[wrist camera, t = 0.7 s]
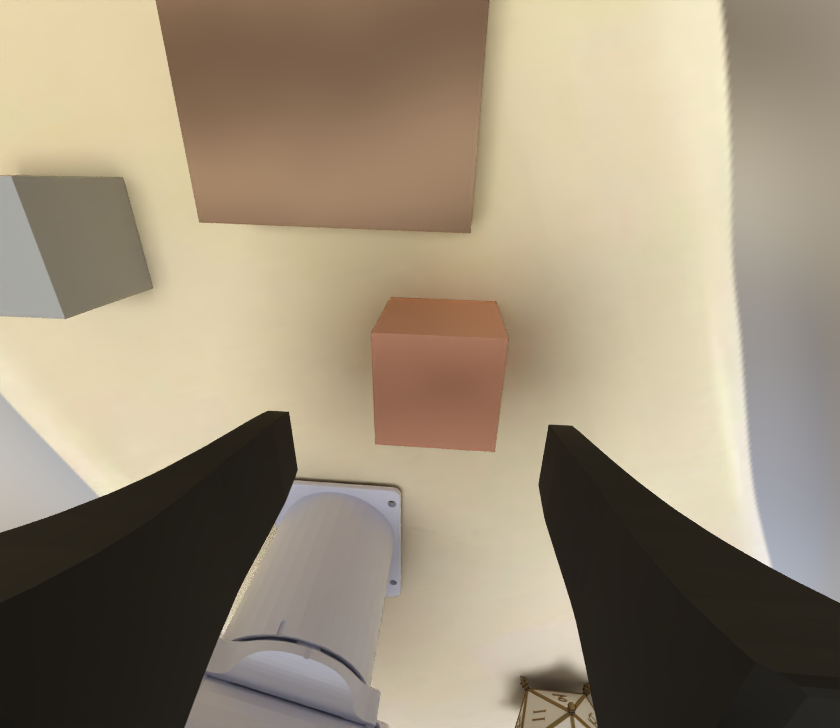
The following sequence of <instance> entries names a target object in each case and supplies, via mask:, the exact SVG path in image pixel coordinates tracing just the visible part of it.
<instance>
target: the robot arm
mask: <svg viewBox="0 0 840 728" xmlns="http://www.w3.org/2000/svg"><path fill="white" fill-rule="evenodd" d="M297 470H298V469H297V462H296V456H295V449H294V443H293V436H292V429H291V423H290V416H289V412H281V411H267V412H265V413H262V414H260V415H258V416H257V417H255V418H253V419H251V420H249V421H248V422H246V423H244V424H243V425H241V426H239V427H237V428H236V429H234V430H232V431H231V432H229V433H227V434H225V435H224V436H222V437H220V438H219V439H217V440H215V441H213V442H212V443H210V444H208V445H207V446H205V447H203V448H201V449H199V450H197V451H196V452H194V453H192V454H190V455H188V456H186V457H184V458H183V459H181V460H179V461H177V462H175V463H173V464H171V465H170V466H168V467H166V468H164V469H162V470H160V471H158V472H156V473H154V474H152V475H150V476H148V477H145V478H143V479H141V480H139V481H137V482H135V483H132V484H130V485H128V486H126V487H123V488H121V489H119V490H117V491H114V492H112V493H110V494H107V495H105V496H102V497H99V498H97V499H95V500H92V501H89V502H87V503H84V504H81V505H79V506H76V507H74V508H71V509H68V510H66V511H63V512H61V513H58V514H55V515H53V516H50V517H47V518H44V519H41V520H38V521H35V522H32V523H29V524H26V525H23V526H20V527H17V528H14V529H11V530H8V531H5V532H1V533H0V728H389V726H388V725H387V724H386V723H384V722H381V721H378V720H377V713H378V706H379V699H380V691H379V690H377V689H374V688H372V687H370V685H371V679H372V673H373V667H374V661H375V655H376V649H377V643H378V637H379V631H380V625H381V619H382V613H383V607H384V601H385V596H389V597H397V596H399V595H400V593H401V492H400V491H399V489H397V488H394V487H384V486H370V485H356V484H342V483H328V482H313V481H299V480H294V479H295V476H296V473H297ZM539 490H540V496H541V502H542V507H543V513H544V518H545V521H546V525H547V528H548V531H549V535H550V538H551V541H552V544H553V548H554V551H555V554H556V557H557V560H558V563H559V566H560V570H561V573H562V576H563V579H564V582H565V585H566V588H567V592H568V595H569V598H570V601H571V605H572V608H573V612H574V616H575V619H576V624H577V628H578V633H579V638H580V642H581V647H582V651H583V656H584V661H585V665H586V670H587V676H588V681H589V686H590V691H591V696H592V701H593V706H594V711H595V716H596V721H597V727H598V728H840V603H839V602H837V601H835V600H832V599H831V598H828V597H827V596H825V595H823V594H820V593H819V592H816V591H815V590H813V589H811V588H809V587H806V586H805V585H803V584H800V583H798V582H797V581H795V580H792V579H791V578H789V577H787V576H785V575H783V574H781V573H779V572H778V571H776V570H774V569H772V568H770V567H768V566H766V565H765V564H763V563H761V562H759V561H758V560H756V559H754V558H752V557H751V556H749V555H747V554H745V553H744V552H742V551H740V550H738V549H737V548H735V547H733V546H731V545H730V544H728V543H726V542H725V541H723V540H721V539H720V538H718V537H717V536H715V535H713V534H712V533H710V532H708V531H707V530H705V529H704V528H702V527H701V526H699V525H698V524H696V523H695V522H693V521H692V520H690V519H689V518H687V517H686V516H684V515H683V514H681V513H680V512H678V511H677V510H675V509H674V508H672V507H671V506H670V505H668V504H667V503H665V502H664V501H663V500H661V499H660V498H659V497H657V496H656V495H655V494H653V493H652V492H651V491H649V490H648V489H647V488H646V487H644V486H643V485H642V484H640V483H639V482H638V481H637V480H635V479H634V478H633V477H632V476H630V475H629V474H628V473H627V472H625V471H624V470H623V469H622V468H621V467H619V466H618V465H617V464H616V463H615V462H614V461H612V460H611V459H610V458H609V457H608V456H607V455H605V454H604V453H603V452H602V451H601V450H600V449H599V448H597V447H596V446H595V445H594V444H593V443H592V442H591V441H589V440H588V439H587V438H586V437H585V436H584V435H583V434H581V433H580V432H579V431H578V430H577V429H575V428H574V427H573V426H566V425H549V426H548V432H547V438H546V444H545V450H544V455H543V461H542V467H541V473H540V479H539ZM390 501H394V503H393V502H390ZM275 521H276V526H277V531H276V533H275V535H274V537H273V539H272V541H271V543H270V545H269V547H268V549H267V551H266V553H265V555H264V557H263V559H262V561H261V563H260V565H259V567H258V568H257V570H256V572H255V574H254V576H253V578H252V580H251V582H250V584H249V586H248V588H247V590H246V592H245V594H244V596H243V598H242V600H241V602H240V604H239V606H238V608H237V610H236V612H235V614H234V616H233V618H232V620H231V622H230V623H229V625H228V627H227V629H226V631H225V633H224V635H223V637H222V639H221V638H219V636H220V633H221V631H222V629H223V626H224V624H225V622H226V619H227V617H228V615H229V612H230V610H231V607H232V605H233V603H234V600H235V598H236V596H237V593H238V591H239V589H240V587H241V585H242V583H243V581H244V579H245V577H246V575H247V573H248V571H249V570H250V568H251V566H252V564H253V562H254V560H255V558H256V557H257V555H258V553H259V551H260V549H261V547H262V546H263V544H264V542H265V540H266V538H267V536H268V534H269V533H270V531H271V529H272V527H273V525H274V523H275Z"/></svg>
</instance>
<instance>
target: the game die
mask: <svg viewBox="0 0 840 728" xmlns="http://www.w3.org/2000/svg"><path fill="white" fill-rule="evenodd" d="M520 679H521V683H520V684H521V685H522V686H523V688H524V689H525V690H526V692H525V695H524V699H523V702H522V706H521V709H520V712H519V716H518V719H517V722H516V726H515V728H598V727H597V721H596V716H595V711H594V707H593V706H592V704H591V703H590V701H589V699H588V698H587V696H588V694H590V686H589V683H588V684H586V685H584V688H583V689H582V690H583V693H573V692H563V691H553V690H543V689H533V688H529V686H528V683H527V681H526V679H524V678H523V677H521V676H520Z"/></svg>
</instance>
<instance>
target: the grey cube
mask: <svg viewBox="0 0 840 728" xmlns="http://www.w3.org/2000/svg"><path fill="white" fill-rule="evenodd" d="M151 288H153V286H152V282H151V279H150V275H149V271H148V268H147V264H146V260H145V257H144V253H143V249H142V245H141V242H140V238H139V234H138V231H137V227H136V223H135V220H134V216H133V212H132V208H131V205H130V201H129V197H128V194H127V190H126V186H125V183H124V179H123V177H77V176H29V175H0V316H9V317H31V318H53V319H67V318H70V317H72V316H75V315H78V314H81V313H84V312H87V311H89V310H92V309H95V308H98V307H101V306H103V305H106V304H109V303H112V302H115V301H118V300H120V299H123V298H126V297H129V296H132V295H135V294H137V293H140V292H143V291H146V290H149V289H151Z"/></svg>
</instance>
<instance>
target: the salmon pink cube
mask: <svg viewBox="0 0 840 728" xmlns="http://www.w3.org/2000/svg"><path fill="white" fill-rule="evenodd" d="M371 341H372V369H373V397H374V424H375V444H379V445H395V446H411V447H426V448H442V449H457V450H473V451H489V452H495V447H496V439H497V431H498V422H499V414H500V406H501V397H502V389H503V381H504V372H505V364H506V356H507V348H508V336H507V333H506V330H505V327H504V324H503V321H502V318H501V315H500V312H499V310H498V307H497V304H496V301H472V300H447V299H421V298H395V297H391V298H390V300H389V302H388V303H387V305H386V307H385V309H384V311H383V312H382V314H381V316H380V318H379V320H378V321H377V323H376V325H375V327H374V328H373V330H372V332H371Z"/></svg>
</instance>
